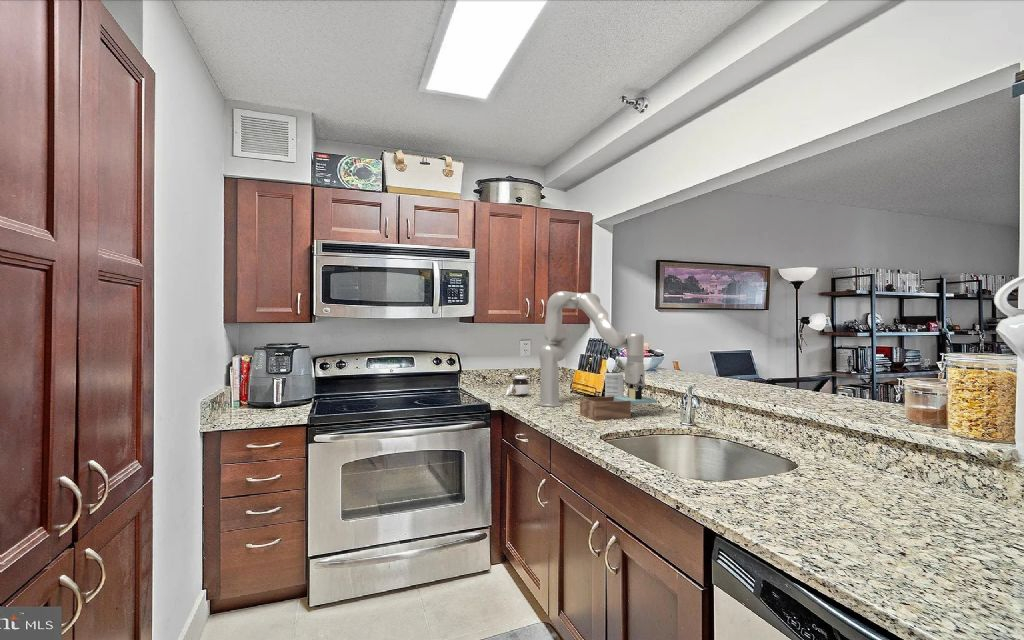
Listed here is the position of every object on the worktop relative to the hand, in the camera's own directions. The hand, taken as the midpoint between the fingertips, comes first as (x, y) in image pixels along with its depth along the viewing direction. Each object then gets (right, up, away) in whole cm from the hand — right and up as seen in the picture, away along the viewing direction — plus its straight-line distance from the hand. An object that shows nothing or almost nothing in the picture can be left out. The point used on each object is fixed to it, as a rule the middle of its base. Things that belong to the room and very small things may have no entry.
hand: (634, 397), depth 224 cm
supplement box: (-5, -8, +22) cm, 24 cm away
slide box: (-15, -8, -6) cm, 18 cm away
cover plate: (0, -2, 0) cm, 2 cm away
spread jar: (-55, -8, +54) cm, 77 cm away
